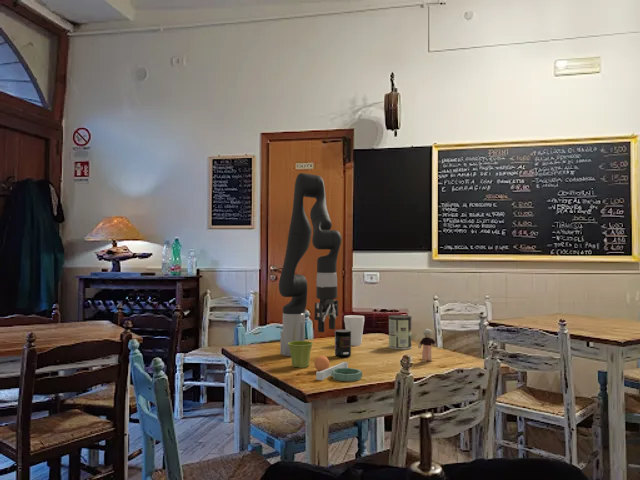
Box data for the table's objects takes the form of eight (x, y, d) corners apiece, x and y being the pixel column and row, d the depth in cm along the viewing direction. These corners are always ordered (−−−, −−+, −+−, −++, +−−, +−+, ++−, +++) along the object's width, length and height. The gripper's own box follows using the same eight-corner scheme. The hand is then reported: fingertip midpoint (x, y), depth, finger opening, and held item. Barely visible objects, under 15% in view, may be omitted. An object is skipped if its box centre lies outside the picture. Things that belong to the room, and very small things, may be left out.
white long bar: (316, 379, 169) (316, 371, 169) (342, 368, 185) (342, 361, 185) (322, 380, 167) (322, 372, 167) (348, 369, 184) (348, 362, 184)
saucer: (327, 378, 169) (327, 372, 169) (340, 373, 178) (340, 366, 178) (353, 382, 165) (353, 375, 165) (365, 376, 173) (365, 370, 173)
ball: (311, 371, 180) (311, 356, 180) (319, 368, 184) (319, 354, 184) (324, 373, 177) (324, 358, 177) (332, 370, 182) (332, 355, 182)
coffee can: (400, 344, 235) (400, 314, 236) (416, 348, 227) (416, 316, 227) (383, 346, 230) (383, 315, 230) (399, 350, 221) (399, 318, 222)
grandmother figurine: (423, 362, 196) (423, 329, 196) (417, 361, 199) (416, 328, 200) (438, 361, 199) (438, 328, 200) (432, 359, 203) (432, 327, 203)
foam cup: (351, 342, 242) (351, 314, 242) (368, 344, 236) (368, 316, 237) (340, 344, 234) (340, 316, 235) (357, 347, 229) (357, 318, 229)
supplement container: (345, 354, 212) (346, 329, 213) (354, 357, 206) (354, 331, 207) (331, 355, 209) (331, 330, 210) (339, 358, 203) (339, 332, 204)
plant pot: (292, 370, 182) (293, 345, 183) (284, 364, 191) (284, 341, 191) (316, 367, 186) (316, 344, 186) (307, 362, 195) (307, 340, 195)
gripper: (326, 284, 190) (326, 327, 190) (308, 286, 178) (307, 332, 177) (344, 284, 187) (344, 328, 186) (327, 286, 174) (327, 334, 174)
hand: (326, 330), depth 182 cm, fingers open, 8 cm apart
